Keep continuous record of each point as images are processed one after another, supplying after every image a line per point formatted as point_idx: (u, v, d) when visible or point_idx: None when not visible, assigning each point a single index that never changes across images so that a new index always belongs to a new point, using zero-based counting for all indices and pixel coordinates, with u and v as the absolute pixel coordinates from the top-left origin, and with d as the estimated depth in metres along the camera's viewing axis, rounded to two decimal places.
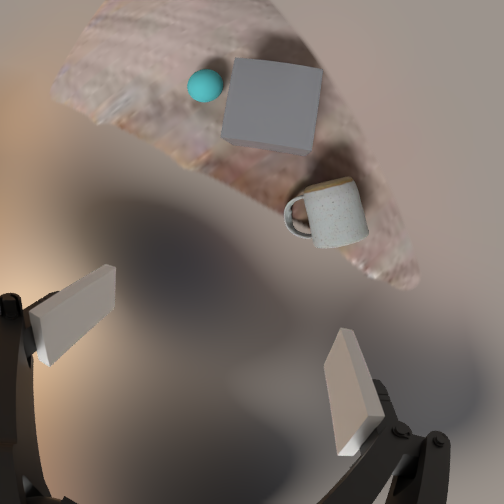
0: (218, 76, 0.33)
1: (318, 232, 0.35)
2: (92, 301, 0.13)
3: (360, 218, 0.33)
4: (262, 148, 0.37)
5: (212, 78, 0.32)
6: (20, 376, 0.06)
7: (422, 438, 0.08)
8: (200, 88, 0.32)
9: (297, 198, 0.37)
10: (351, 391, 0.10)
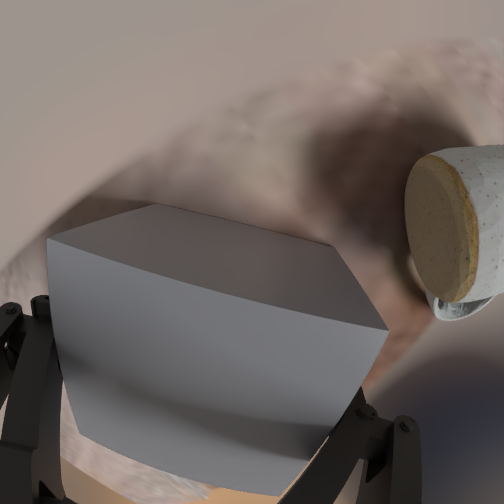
0: None
1: None
2: None
3: None
4: None
5: None
6: (48, 380, 0.07)
7: (389, 423, 0.08)
8: None
9: (437, 300, 0.13)
10: None
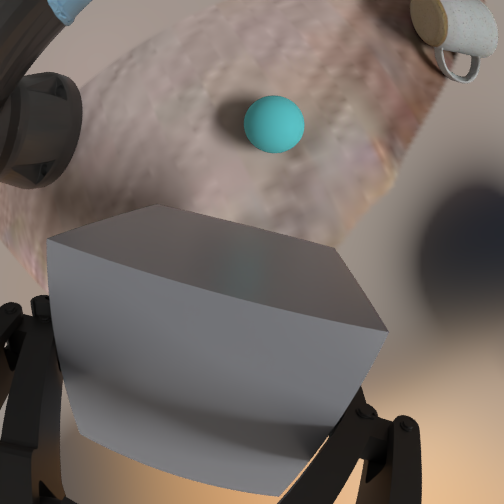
0: (264, 97, 0.20)
1: (485, 42, 0.13)
2: None
3: None
4: None
5: (270, 101, 0.19)
6: (48, 380, 0.07)
7: (389, 423, 0.08)
8: (288, 121, 0.20)
9: (443, 56, 0.18)
10: None
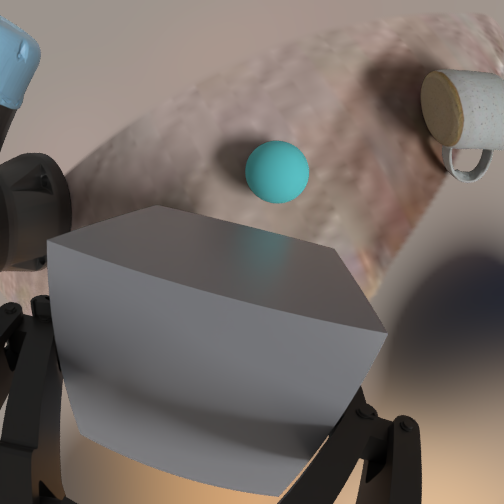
0: None
1: (502, 140, 0.15)
2: None
3: (486, 77, 0.13)
4: None
5: None
6: (49, 380, 0.07)
7: (389, 423, 0.08)
8: None
9: (450, 157, 0.19)
10: None
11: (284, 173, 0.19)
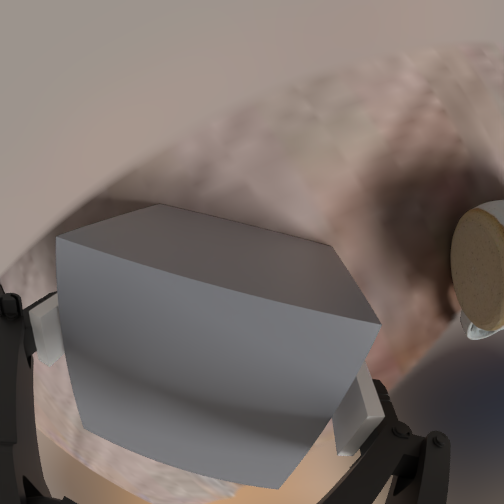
0: None
1: None
2: None
3: None
4: None
5: None
6: (20, 376, 0.06)
7: (422, 438, 0.08)
8: None
9: (471, 325, 0.14)
10: (351, 391, 0.10)
11: None
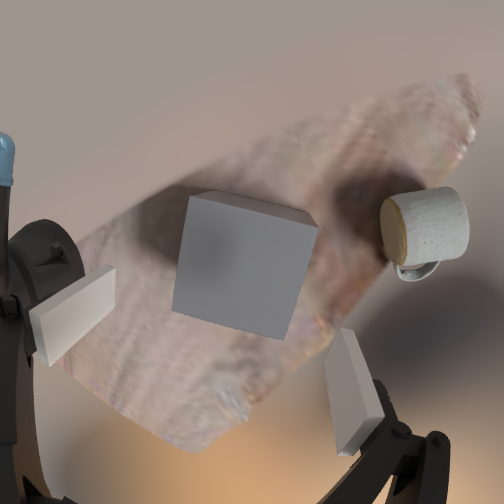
0: None
1: (446, 258, 0.23)
2: (92, 301, 0.13)
3: (443, 204, 0.21)
4: None
5: None
6: (20, 376, 0.06)
7: (422, 438, 0.08)
8: None
9: (398, 267, 0.28)
10: (351, 391, 0.10)
11: None
